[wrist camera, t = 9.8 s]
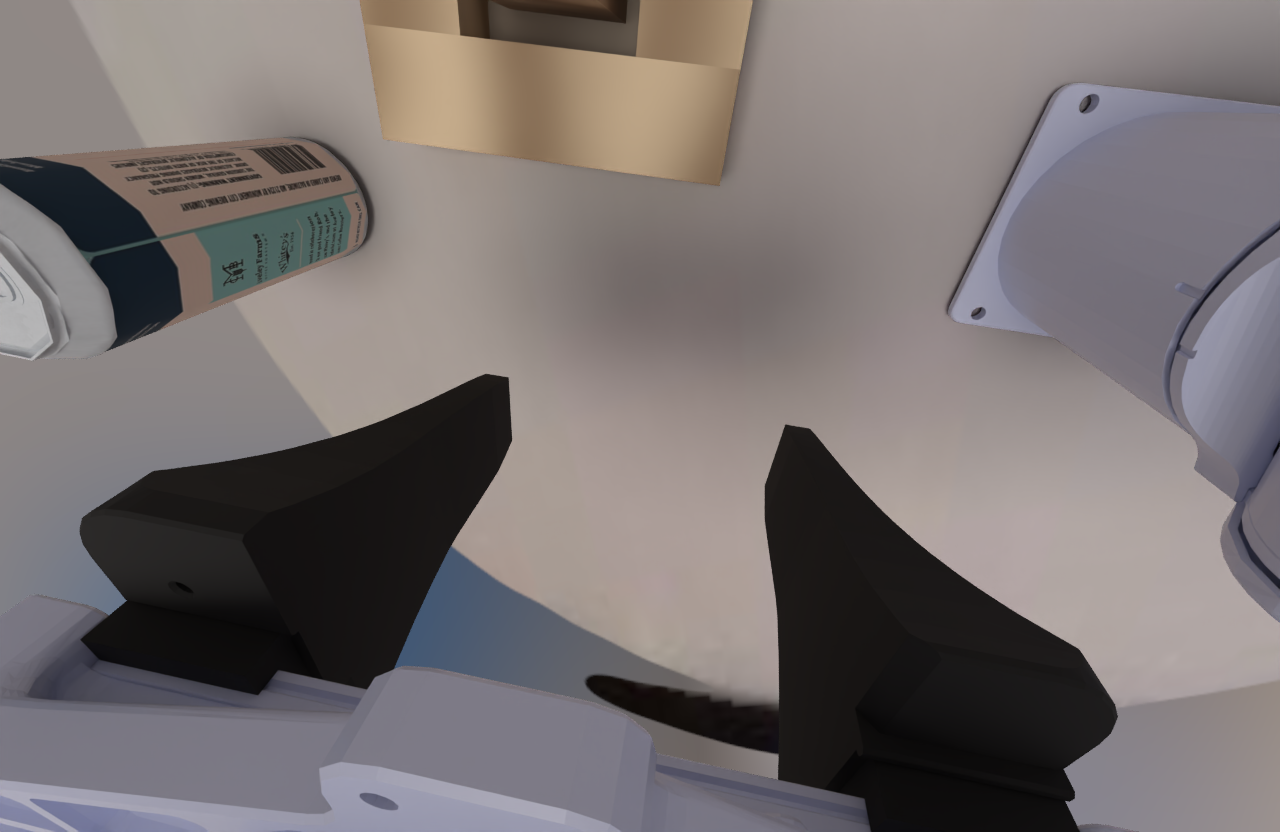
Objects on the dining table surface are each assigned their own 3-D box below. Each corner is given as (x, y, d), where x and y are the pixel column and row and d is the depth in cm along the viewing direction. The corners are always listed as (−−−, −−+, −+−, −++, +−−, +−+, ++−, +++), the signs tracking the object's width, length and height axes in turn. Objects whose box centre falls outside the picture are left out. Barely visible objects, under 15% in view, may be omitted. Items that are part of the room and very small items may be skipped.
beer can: (247, 147, 20) (-211, 189, 10) (341, 125, 19) (-67, 148, 9) (306, 261, 23) (-17, 382, 13) (393, 247, 22) (114, 367, 12)
